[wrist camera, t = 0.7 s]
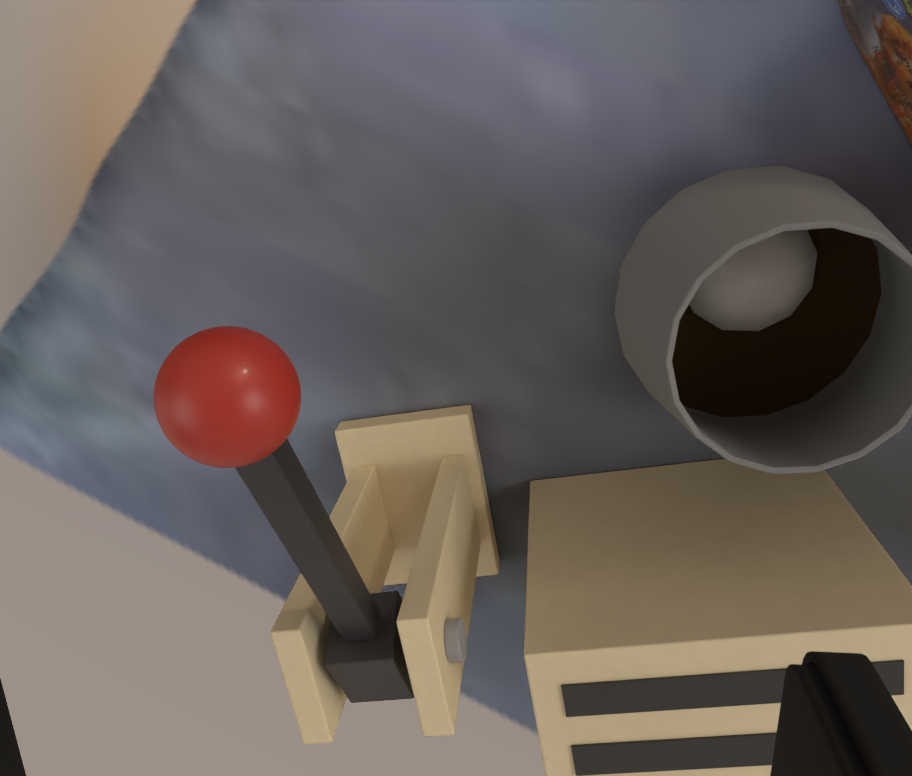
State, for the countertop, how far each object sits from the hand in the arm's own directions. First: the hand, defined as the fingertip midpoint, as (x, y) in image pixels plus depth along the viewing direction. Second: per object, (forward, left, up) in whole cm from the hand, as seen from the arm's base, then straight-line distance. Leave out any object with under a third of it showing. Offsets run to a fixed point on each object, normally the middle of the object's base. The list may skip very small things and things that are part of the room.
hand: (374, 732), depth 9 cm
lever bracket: (+9, -5, -25) cm, 27 cm away
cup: (+2, +9, -25) cm, 27 cm away
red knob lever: (+3, -5, -13) cm, 14 cm away
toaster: (+12, +6, -25) cm, 29 cm away
